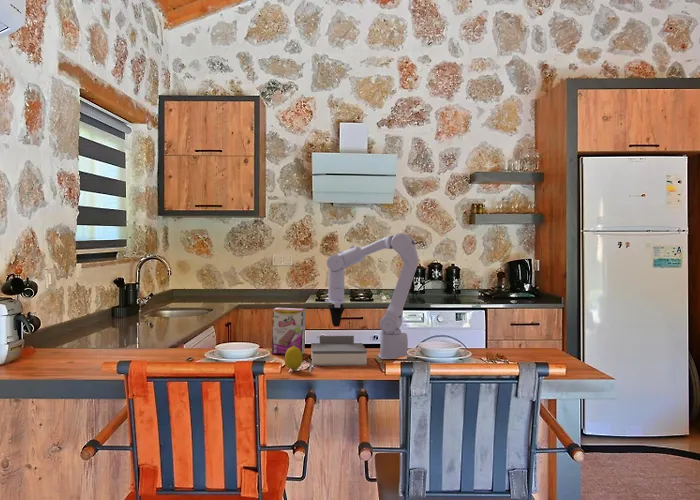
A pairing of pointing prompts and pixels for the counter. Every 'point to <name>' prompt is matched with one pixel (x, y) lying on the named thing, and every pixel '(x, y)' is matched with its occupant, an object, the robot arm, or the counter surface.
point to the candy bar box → (288, 329)
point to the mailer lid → (337, 345)
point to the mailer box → (339, 359)
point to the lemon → (293, 358)
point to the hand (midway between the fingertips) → (335, 325)
